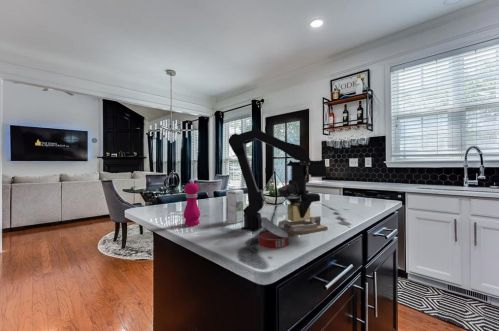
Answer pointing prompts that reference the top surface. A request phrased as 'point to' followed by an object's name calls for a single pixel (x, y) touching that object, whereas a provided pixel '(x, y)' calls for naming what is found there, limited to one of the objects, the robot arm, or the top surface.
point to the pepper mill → (191, 204)
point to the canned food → (272, 236)
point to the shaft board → (302, 226)
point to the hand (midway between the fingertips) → (298, 216)
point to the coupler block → (296, 213)
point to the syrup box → (234, 206)
